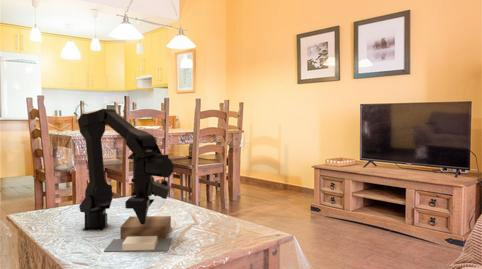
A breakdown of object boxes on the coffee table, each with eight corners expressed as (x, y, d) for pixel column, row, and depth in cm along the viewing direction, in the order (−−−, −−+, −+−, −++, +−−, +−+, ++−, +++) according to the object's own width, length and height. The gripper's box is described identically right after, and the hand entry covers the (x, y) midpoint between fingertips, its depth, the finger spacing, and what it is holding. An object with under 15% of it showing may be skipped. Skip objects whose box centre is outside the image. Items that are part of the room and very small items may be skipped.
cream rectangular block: (127, 236, 109) (127, 243, 109) (122, 243, 103) (122, 250, 103) (157, 236, 110) (157, 242, 110) (154, 243, 104) (154, 249, 104)
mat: (103, 252, 103) (103, 250, 103) (113, 239, 113) (113, 238, 113) (167, 251, 104) (167, 250, 104) (172, 239, 114) (171, 238, 114)
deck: (120, 239, 113) (120, 227, 113) (129, 227, 125) (129, 216, 125) (165, 239, 114) (165, 226, 114) (170, 227, 126) (170, 216, 126)
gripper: (164, 179, 103) (164, 233, 104) (172, 169, 122) (172, 215, 123) (124, 179, 102) (125, 234, 103) (139, 169, 121) (139, 215, 122)
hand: (142, 224), depth 113 cm, fingers closed
